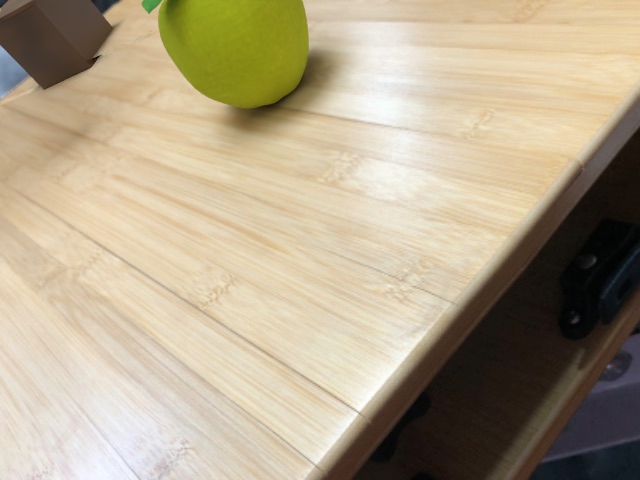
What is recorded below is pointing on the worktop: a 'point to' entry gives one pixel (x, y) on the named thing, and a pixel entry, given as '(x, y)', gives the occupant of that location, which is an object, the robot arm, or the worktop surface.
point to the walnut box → (52, 36)
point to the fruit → (236, 46)
